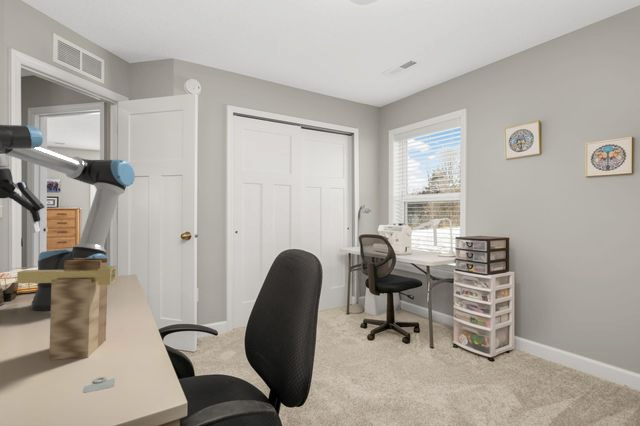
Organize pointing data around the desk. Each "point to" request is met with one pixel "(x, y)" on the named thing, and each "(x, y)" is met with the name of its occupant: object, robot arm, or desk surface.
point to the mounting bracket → (99, 384)
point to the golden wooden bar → (69, 275)
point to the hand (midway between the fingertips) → (12, 235)
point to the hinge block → (77, 312)
